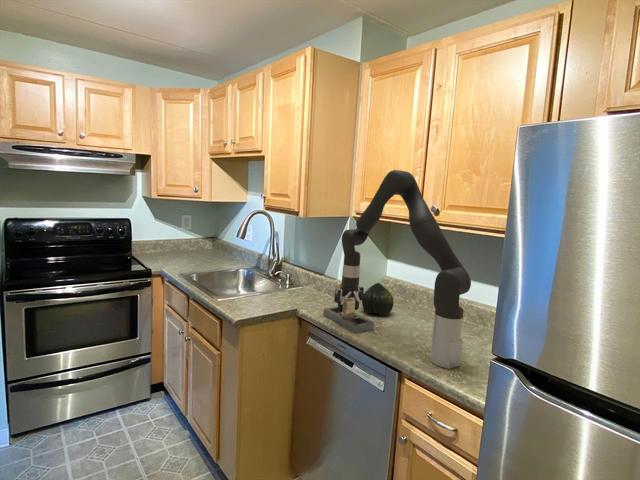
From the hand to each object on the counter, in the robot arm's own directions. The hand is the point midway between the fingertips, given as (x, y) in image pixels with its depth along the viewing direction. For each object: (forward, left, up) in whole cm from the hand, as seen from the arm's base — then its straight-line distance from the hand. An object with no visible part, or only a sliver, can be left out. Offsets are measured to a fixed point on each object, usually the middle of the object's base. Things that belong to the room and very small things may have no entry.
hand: (348, 310), depth 165 cm
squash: (+5, -21, -5) cm, 22 cm away
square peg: (0, 0, -5) cm, 5 cm away
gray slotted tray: (0, 0, -5) cm, 5 cm away
